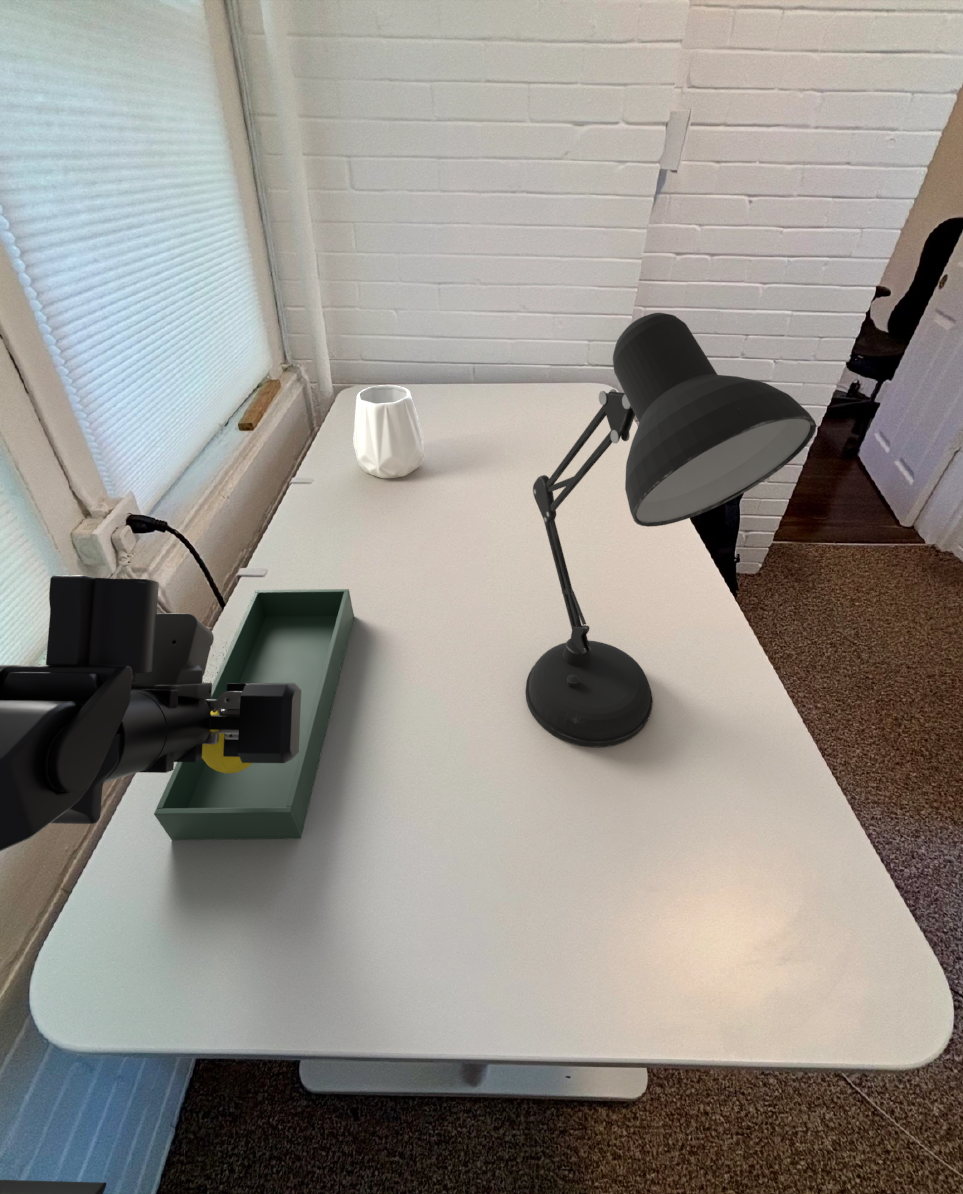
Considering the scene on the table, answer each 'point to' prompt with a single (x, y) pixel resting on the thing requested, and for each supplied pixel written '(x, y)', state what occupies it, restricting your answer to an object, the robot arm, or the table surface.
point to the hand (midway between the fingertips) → (227, 711)
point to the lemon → (221, 756)
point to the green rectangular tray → (313, 662)
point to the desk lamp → (656, 501)
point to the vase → (387, 432)
